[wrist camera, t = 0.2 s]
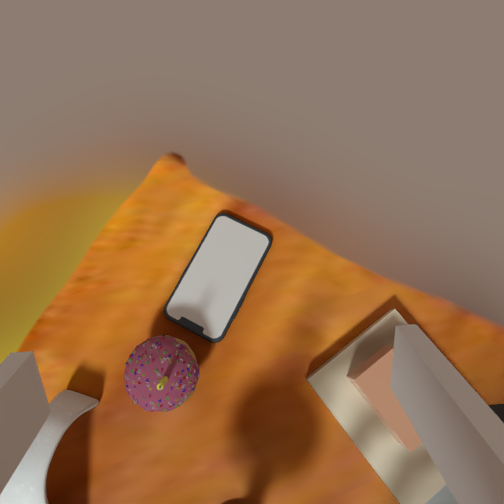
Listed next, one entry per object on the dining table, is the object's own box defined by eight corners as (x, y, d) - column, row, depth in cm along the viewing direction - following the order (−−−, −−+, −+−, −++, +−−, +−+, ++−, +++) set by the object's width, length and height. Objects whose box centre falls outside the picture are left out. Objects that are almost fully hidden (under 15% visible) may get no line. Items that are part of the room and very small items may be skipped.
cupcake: (214, 349, 48) (198, 353, 36) (189, 416, 46) (163, 442, 34) (153, 326, 49) (118, 322, 37) (126, 390, 47) (81, 407, 35)
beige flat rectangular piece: (491, 430, 45) (501, 434, 43) (403, 508, 43) (410, 517, 41) (389, 309, 48) (395, 308, 46) (305, 378, 47) (307, 379, 45)
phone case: (219, 213, 53) (161, 315, 49) (218, 209, 51) (158, 314, 48) (275, 240, 52) (220, 346, 48) (275, 237, 50) (219, 346, 47)
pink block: (436, 408, 44) (453, 415, 40) (397, 441, 43) (410, 452, 39) (384, 345, 45) (395, 345, 42) (346, 376, 45) (354, 380, 41)
